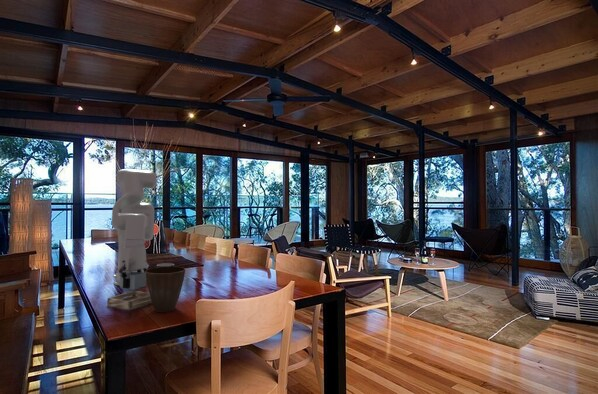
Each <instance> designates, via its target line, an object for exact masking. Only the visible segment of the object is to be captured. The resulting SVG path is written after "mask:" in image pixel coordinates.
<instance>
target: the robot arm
mask: <svg viewBox="0 0 598 394" xmlns="http://www.w3.org/2000/svg"><path fill="white" fill-rule="evenodd" d="M116 179H117V180H116V181H117V183H118V184H117V185H118V186H119V189H120V191H121V192H120V193H121V197H119V198H118V200H116V202H115V203H114V204H113V207H112V210H111V211H112V214H111V225H112V229H114V230H116V232H117V240H118V241H117V242H118V257H117V258H118V259H117V269H116V274H114V275H113V278H114V279H115V280H114V281H113V284H114V286H119V287H120V276H121V277H122V278H123V288H127V289H126V290H129V289H128V288H130V278H129V276H130V273H131V271H134V272H143V273H146V270H148V268H149V266H150V265H149V263H148V262H147V251H146V246H145V243H146V241H151V240H153V239H154V235H155V234H154V233H155V206H154V205H153V204H152V203H150V202H142V201H143V200H144V198H145V190H144V189H155V188H156V186H157V181H158V179H157V176H156V173H155V172H154V171H152V170H145V169H131V168H126V169H124V168H123V169H119V170H118V171H117V173H116ZM126 273H127V275H126Z"/></svg>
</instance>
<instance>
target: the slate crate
mask: <svg viewBox="0 0 598 394" xmlns="http://www.w3.org/2000/svg"><path fill="white" fill-rule="evenodd" d="M126 275H127V273H126ZM129 278H130V288H128V289H127V288H123V278H122V277H121V276H120V286H119V289H123V290H128V291H129V290H130V291H138V290H140V289H143V288H144V289H146V288H147V279H146V272H145V273H143V272H134V271H131V273H130V276H129Z"/></svg>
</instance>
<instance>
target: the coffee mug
mask: <svg viewBox="0 0 598 394" xmlns="http://www.w3.org/2000/svg"><path fill="white" fill-rule="evenodd" d="M157 267H175V264H174V263H170V262H166V263H158V264H156V266H152V267H150V268H149V269H151V268H157Z"/></svg>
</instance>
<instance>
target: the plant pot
mask: <svg viewBox="0 0 598 394" xmlns="http://www.w3.org/2000/svg"><path fill="white" fill-rule="evenodd" d="M150 268H151V269H150ZM150 268H149V269H148V268H147V269H146V272H145V273H146V286H147V290H148V293H149V294H150V297H151V301H152V306H153V308H154V311H155V312H156V313H167V312H168V313H169V312H173V311H174V310H175V308H176V306H177V303H178V301H179V298H180V295H181V292H182V287H183V283H184V280H185V274H186V268H185V267H182V266H174V267H157V266H156V268H152V267H150Z"/></svg>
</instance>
